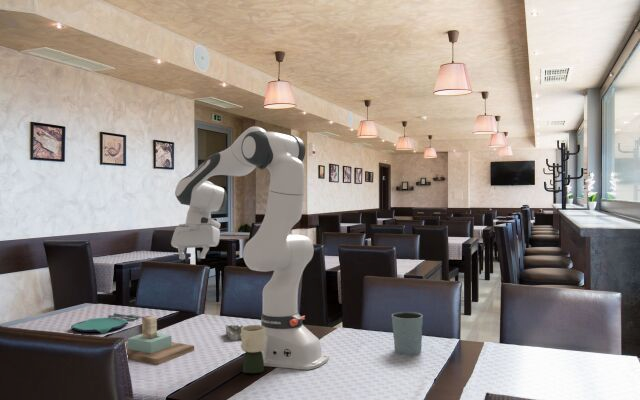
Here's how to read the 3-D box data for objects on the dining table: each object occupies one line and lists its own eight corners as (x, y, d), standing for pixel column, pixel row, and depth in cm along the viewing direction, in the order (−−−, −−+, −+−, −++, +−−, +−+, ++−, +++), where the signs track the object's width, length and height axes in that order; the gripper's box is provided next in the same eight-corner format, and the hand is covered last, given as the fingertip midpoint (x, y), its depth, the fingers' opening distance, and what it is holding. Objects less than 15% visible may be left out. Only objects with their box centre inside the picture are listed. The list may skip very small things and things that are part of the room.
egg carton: (250, 340, 186) (250, 328, 186) (229, 342, 184) (229, 330, 184) (244, 332, 196) (244, 321, 196) (224, 334, 194) (224, 323, 194)
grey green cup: (422, 356, 165) (422, 319, 164) (390, 355, 167) (390, 317, 166) (422, 347, 175) (422, 311, 174) (392, 345, 177) (392, 310, 176)
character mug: (252, 364, 158) (252, 322, 158) (273, 367, 155) (272, 324, 155) (232, 376, 148) (232, 331, 148) (254, 380, 145) (254, 333, 145)
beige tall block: (157, 347, 172) (156, 317, 172) (151, 349, 170) (151, 318, 169) (148, 345, 174) (147, 315, 173) (142, 347, 171) (142, 317, 171)
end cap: (171, 345, 173) (171, 335, 173) (151, 353, 165) (151, 342, 165) (148, 341, 178) (148, 331, 178) (127, 349, 170) (127, 338, 170)
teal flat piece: (60, 333, 197) (60, 327, 197) (111, 316, 225) (111, 311, 225) (105, 337, 191) (105, 331, 191) (151, 319, 220) (151, 314, 220)
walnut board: (194, 350, 173) (194, 345, 173) (159, 364, 159) (159, 359, 159) (141, 341, 184) (141, 337, 184) (104, 353, 170) (104, 349, 170)
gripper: (171, 222, 198) (164, 257, 193) (213, 218, 189) (207, 255, 184) (182, 226, 203) (175, 261, 198) (224, 223, 194) (218, 259, 189)
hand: (191, 258), depth 191 cm, fingers open, 8 cm apart
